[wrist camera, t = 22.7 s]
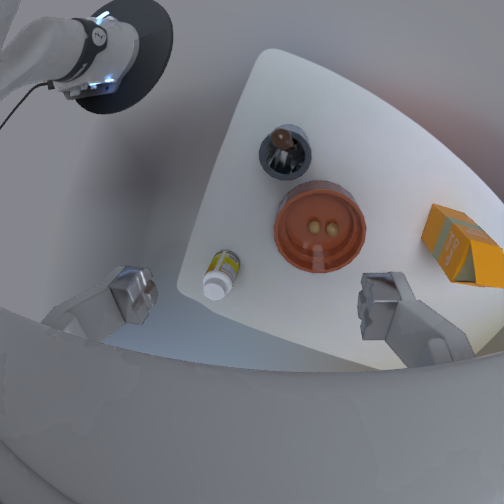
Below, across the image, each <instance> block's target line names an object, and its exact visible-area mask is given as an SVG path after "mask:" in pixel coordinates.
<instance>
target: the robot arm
mask: <svg viewBox="0 0 504 504" xmlns="http://www.w3.org/2000/svg"><path fill="white" fill-rule="evenodd" d="M20 2H21V0H0V101H2V100H3V99H4V98H5V97H6V96H8V95H9V94H10V93H12V92H13V91H15V90H17V89H18V88H20V87H22V86H25V85H28V84H32V83H36V82H41V81H44V82H45V81H47V83H40V84H37V85H36V86H34V87H33V88H32V89H31V90H30V91H29V92H28V93H27V94H26V95H25V96H24V98H23V99H22V100H21V101H20V102H19V103H18V105H17V106H16V107H15V108H14V109H13V111H12V112H11V113H10V114H9V116H8V117H7V118H6V120H5V121H4V122H3V124H2V125H1V126H0V129H1V128H2V127H3V125H4V124H5V122H6V121H7V120H8V119H9V118H10V116H11V115H12V114H13V113H14V111H15V110H16V109H17V108H18V106H19V105H20V104H21V103H22V102H23V101H24V100H25V99H26V97H27V96H28V95H29V94H30V93H31V92H32V90H34V89H35V88H37V87H39V86H45V85H48V89H49V90H50V89H56V90H57V91H58V92H63V94H64V96H65V97H66V99H67V100H74V99H80V98H85V97H91V96H98V95H104V94H112V93H115V92H116V91H117V90H118V88H119V85H120V83H121V80H122V79H123V77H124V76H125V75H126V74H127V72H128V71H129V70H130V69H131V67H132V66H133V64H134V62H135V60H136V57H137V54H138V51H139V36H138V33H137V31H136V29H135V28H134V27H133V26H132V25H130V24H128V23H125V22H120V21H118V20H117V19H116V18H115V17H113V16H108V17H106V18H105V19H104V18H103V17H104V16H106V15H107V14H109V12H105V13H103V14H102V15H100V16H99V17H97V18H95V17H88V18H86V19H85V18H72V19H65V18H56V17H42V18H39V19H36V20H34V21H32V22H31V23H29V24H28V25H26V26H25V27H24V28H23V29H21V31H20V32H19V33H18V34H17V35H16V36H15V37H14V39H13V40H12V41H11V42H10V43H9V44H8V45H7V46H6V47H5V48H4V49H3V50H1V49H2V46H3V43H4V41H5V38H6V35H7V33H8V31H9V28H10V26H11V23H12V21H13V19H14V17H15V14H16V12H17V10H18V7H19V4H20ZM108 87H109V89H108ZM152 277H153V275H152V272H151V270H150V268H148V267H142V266H127V265H118V266H116V267H115V268H114V269H113V270H112V271H111V272H110V273H109V274H108V276H107V277H106V278H105V279H104V280H103V281H102V282H101V283H100V284H99V286H94V287H92V288H91V289H88V290H86V291H85V292H83V293H81V294H79V295H77V296H75V297H73V298H71V299H69V300H67V301H65V302H63V303H61V304H60V305H57V306H55V307H54V308H53V309H52V310H51V311H50V312H49V314H48V315H47V316H46V317H45V318H44V319H43V320H42V322H41V323H38V322H36V321H33V320H30V319H28V318H25V317H23V316H20V315H18V314H16V313H13V312H11V311H9V310H6V309H4V308H2V307H0V504H504V351H502V352H498V353H494V354H490V355H485V356H481V357H477V358H476V357H475V354H474V352H473V350H472V347H471V345H470V343H469V341H468V338H467V336H466V334H465V333H464V332H463V331H461V330H460V329H459V328H457V327H456V326H455V325H453V324H452V323H451V322H449V321H448V320H447V319H445V318H444V317H443V316H441V315H440V314H438V313H437V312H436V311H434V310H433V309H432V308H430V307H429V306H427V305H426V304H425V303H423V302H422V301H420V300H416V299H415V296H414V294H413V292H412V290H411V288H410V286H409V284H408V281H407V279H406V277H405V275H404V273H402V272H389V273H363V276H362V280H361V285H362V290H361V291H360V292H359V296H358V305H357V309H358V317H359V318H360V319H361V320H362V321H361V325H360V328H361V334H362V339H363V340H385V342H386V343H387V344H388V345H389V346H390V348H391V349H392V350H393V351H394V352H395V353H396V355H397V356H398V357H399V358H400V359H401V360H402V362H403V363H404V364H405V365H406V366H407V367H408V368H405V369H394V370H381V371H365V372H330V373H328V372H327V373H326V372H325V373H321V372H286V371H268V370H255V369H243V368H234V367H224V366H217V365H208V364H202V363H195V362H188V361H182V360H176V359H171V358H165V357H160V356H154V355H150V354H145V353H141V352H136V351H132V350H127V349H123V348H119V347H115V346H111V345H107V344H104V343H101V342H102V341H103V340H105V339H106V338H108V337H109V336H110V335H112V334H113V333H114V332H115V331H117V330H118V329H119V328H120V327H122V326H123V325H125V323H131V324H138V325H143V323H144V322H145V320H146V318H147V317H148V315H149V312H148V310H149V309H151V308H152V307H154V305H155V304H156V301H157V297H158V291H157V287H156V285H155V284H154V282H153V281H152V280H151V279H152Z"/></svg>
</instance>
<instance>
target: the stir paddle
mask: <svg viewBox="0 0 504 504" xmlns="http://www.w3.org/2000/svg"><path fill="white" fill-rule="evenodd" d="M271 142H272V144H273V145H274V146H276V147H277V148H279V149H281V150H283V151H285V152H290V151H292V150H298V144H294V143H293V140H292V137H291V134H290V133H289V131H287V130H286V129H283V128H278V129H276V130H274V131H273V132H272V134H271Z"/></svg>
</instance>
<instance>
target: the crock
mask: <svg viewBox="0 0 504 504" xmlns="http://www.w3.org/2000/svg"><path fill="white" fill-rule="evenodd" d="M278 128H283V129H286V130H287V131H289V133H290V134H291V137H292V140H293V143H294V144H298V150H292V151H290V152H285V151H283V150H281V149H279V148H277V147H276V146H274V145H273V144H272V142H271V134H272V132H273V131H274V130H276V129H278ZM274 130H273V131H272V132H271V133H270V134H269V135H268V136H267V137H266V138H265V139H264V140H263V142H262V144H261V147H260V150H259V160H260V163H261V165H262V167H263V169H264V170H265V171H266V172H267V173H268V174H269V175H270V176H272V177H274V178H277V179H279V180H293V179H296V178H298V177H300V176H302V175H303V174H304V173H305V172H306V171H307V169H308V168H309V165H310V163H311V160H312V158H311V148H310V144H309V141H308V138H307V136H306V134H305V132H304V131H303V130H302V129H301V128H299V127H297V126H295V125H291V124H285V125H281V126H279V127H277V128H275V129H274Z"/></svg>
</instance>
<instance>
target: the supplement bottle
mask: <svg viewBox="0 0 504 504" xmlns="http://www.w3.org/2000/svg"><path fill="white" fill-rule="evenodd" d="M239 266H240V261H239V259H238V257H237V256H236V255H235V254H234V253H232V252H230V251H220V252H218V253H217V254H216V255H215V256H214V258H213V260H212V262H211V264H210V266H209V268H208V270H207V272H206V273H205V275H204V278H203V285H204V288H203V292H204V294H205V296H206V297H207V298H209V299H211V300H214V301H219V300H221V299H223V298H224V296H225V295H227V294H228V293H229V292H230V291H231V289H232V287H233V284H234V281H235V278H236V275H237V272H238V270H239Z"/></svg>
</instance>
